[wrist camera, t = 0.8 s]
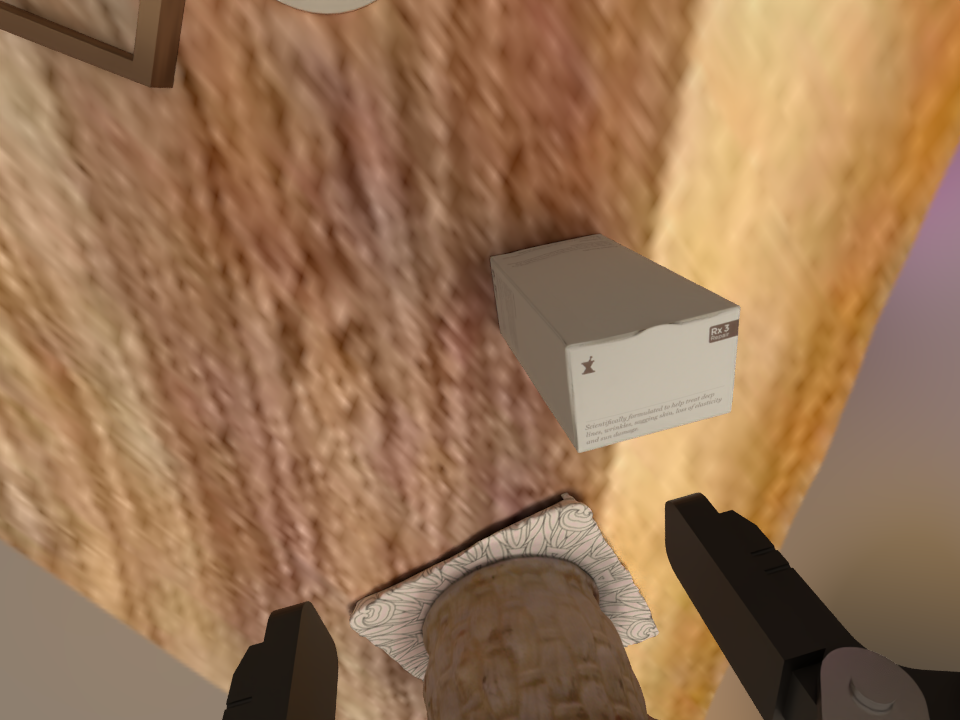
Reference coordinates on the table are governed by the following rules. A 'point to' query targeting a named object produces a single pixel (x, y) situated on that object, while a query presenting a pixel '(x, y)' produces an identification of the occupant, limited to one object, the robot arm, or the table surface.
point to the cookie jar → (519, 625)
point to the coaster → (327, 5)
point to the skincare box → (615, 339)
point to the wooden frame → (150, 53)
